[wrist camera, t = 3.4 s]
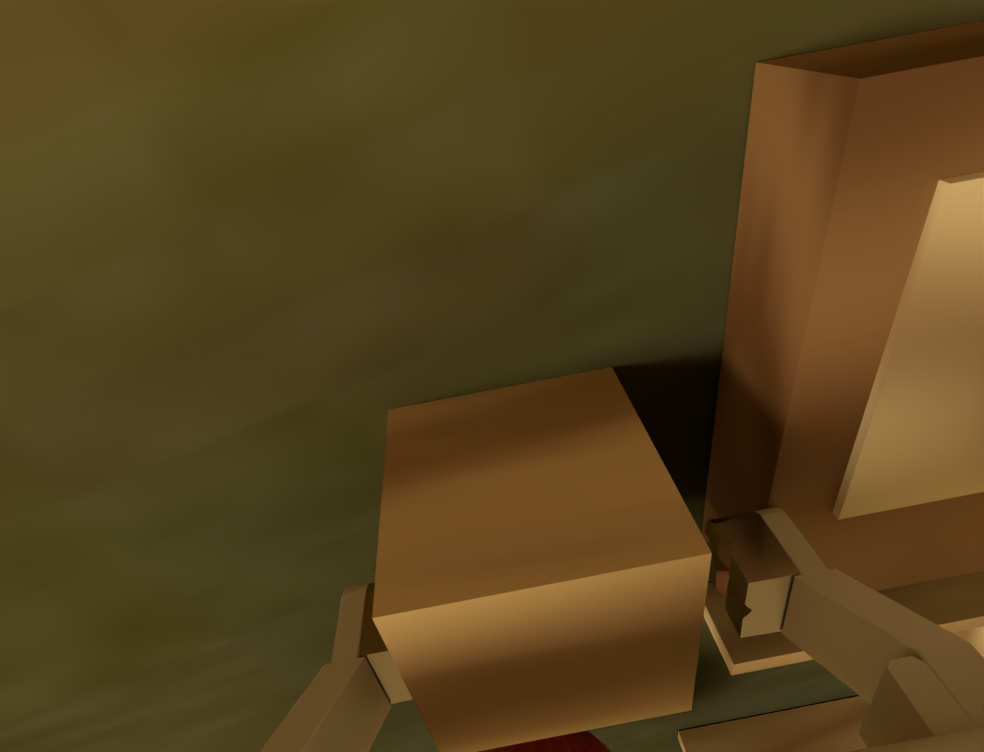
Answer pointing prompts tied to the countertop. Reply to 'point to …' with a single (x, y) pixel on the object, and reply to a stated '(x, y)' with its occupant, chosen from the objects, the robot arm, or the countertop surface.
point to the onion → (558, 744)
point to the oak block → (536, 564)
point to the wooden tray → (857, 346)
